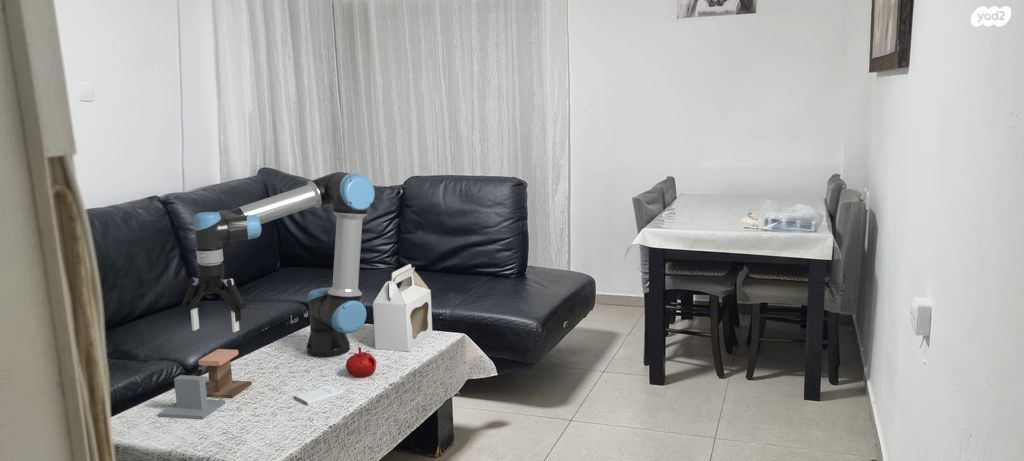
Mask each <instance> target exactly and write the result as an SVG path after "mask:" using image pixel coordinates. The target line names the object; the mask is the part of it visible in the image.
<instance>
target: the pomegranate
mask: <svg viewBox="0 0 1024 461" xmlns="http://www.w3.org/2000/svg"><path fill="white" fill-rule="evenodd" d="M357 350H358V353H357V352H350V353H348V352H347V354H348V355H351V354H352V355H351V356H350V357H348V359H347V360H346V362H345V369H346V371H347V374H349V375H350V376H352V377H354V378H360V379H361V378H366V377H370V376H372V375H374V373H375V371H376V368H377V359H376V357H374V356H373V354H372V353H371V350H366V351H363V352H362V347H361V346H358V347H357Z"/></svg>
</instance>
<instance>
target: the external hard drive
mask: <svg viewBox="0 0 1024 461" xmlns="http://www.w3.org/2000/svg"><path fill="white" fill-rule="evenodd" d="M344 393H345V391H344V390H342V389H340V388H337V387H336V386H333V385H331V384H329V385H326V386H321V387H320V388H315V389H311V390H309V391H305V392H302V393H299V394H296V395H293V399H294V400H296V401H298V402H299V403H301V404H303V405H305V406H312V405H314V404H318V403H322V402H325V401H328V400H330V399H333V398H334V399H335V398H337V397H341V396H343V395H345V394H344Z"/></svg>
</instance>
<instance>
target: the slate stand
mask: <svg viewBox="0 0 1024 461" xmlns="http://www.w3.org/2000/svg"><path fill="white" fill-rule="evenodd" d="M173 380H174V391H175V392H174V393H175V394H174V395H175V400H176V401H175V402H174V403H173V404H171V405H169V406H168V407H167V408H165V409H162V411H160V412H158V414H157V415H158V418H172V419H189V420H190V419H191V420H204V419H206V418H207V417H209V416H210V415H211V414H212V413H214V412H215V411H216V410H218V409H219V408H221V407H222V406H224V405H225V404H226V400H225V399H212V398H211V399H210V398H209V399H208V397H207V394H206V383H207V382H206V377H205V376H204V375H203V376H202V375H184V374H183V375H182V374H180V375H178V376H176V377H175V378H173Z"/></svg>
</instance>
